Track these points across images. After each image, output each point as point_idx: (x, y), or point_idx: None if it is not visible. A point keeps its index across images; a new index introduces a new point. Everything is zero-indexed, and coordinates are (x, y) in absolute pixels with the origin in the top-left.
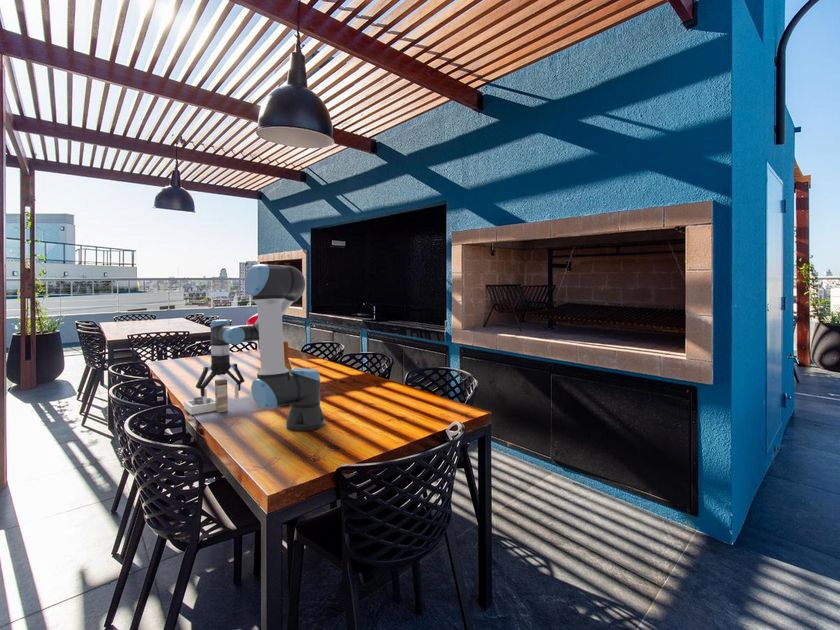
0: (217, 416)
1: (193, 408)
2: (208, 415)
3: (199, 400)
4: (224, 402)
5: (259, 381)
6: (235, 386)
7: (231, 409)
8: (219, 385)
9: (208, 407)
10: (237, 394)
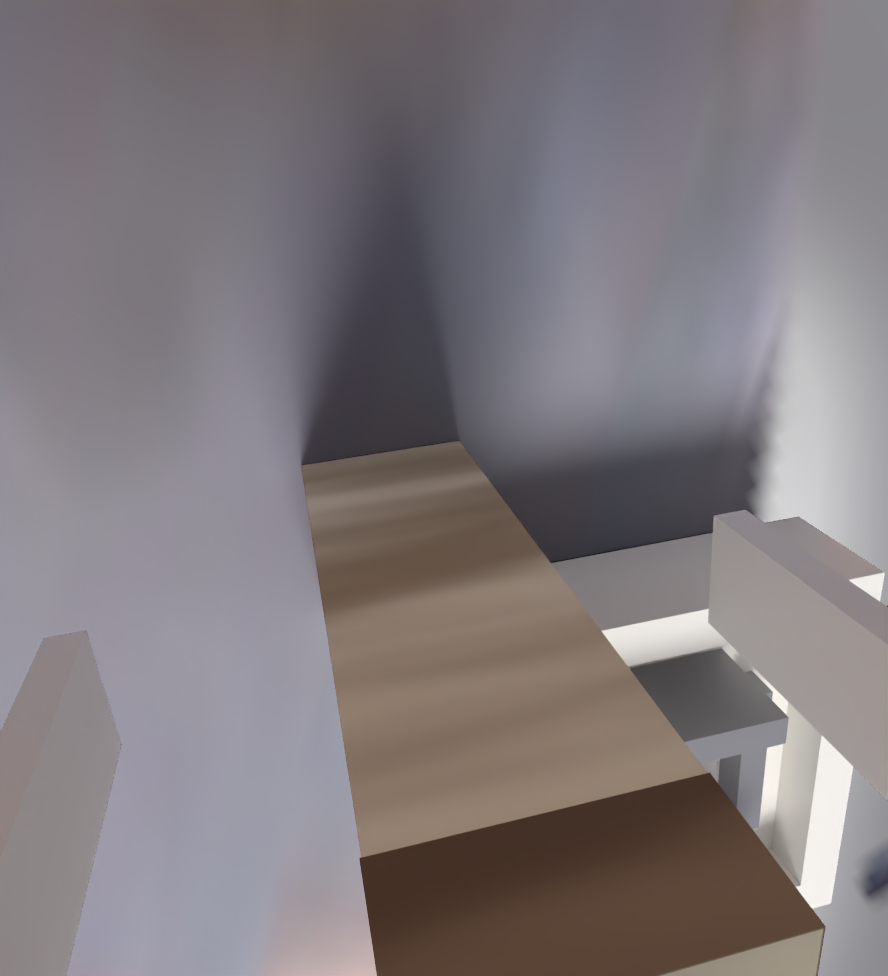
0: (531, 192)
1: (827, 564)
2: (630, 349)
3: (761, 736)
4: (379, 525)
5: None
6: (36, 955)
7: (227, 518)
8: (657, 792)
9: (600, 592)
10: (43, 697)
